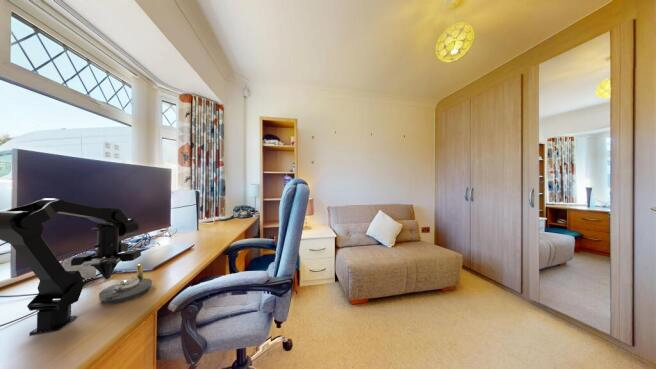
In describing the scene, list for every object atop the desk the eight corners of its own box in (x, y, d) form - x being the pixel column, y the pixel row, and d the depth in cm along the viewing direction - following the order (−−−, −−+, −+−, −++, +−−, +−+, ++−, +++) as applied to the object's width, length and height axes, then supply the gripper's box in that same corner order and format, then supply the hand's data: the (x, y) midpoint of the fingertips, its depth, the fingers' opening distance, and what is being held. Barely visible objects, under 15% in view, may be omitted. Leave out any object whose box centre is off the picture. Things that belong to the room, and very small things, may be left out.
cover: (132, 290, 78) (133, 283, 78) (109, 293, 75) (110, 285, 75) (142, 281, 84) (143, 275, 84) (122, 284, 82) (122, 277, 82)
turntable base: (137, 300, 75) (137, 297, 75) (92, 306, 71) (92, 303, 71) (155, 284, 88) (155, 281, 88) (117, 288, 84) (117, 285, 84)
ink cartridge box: (95, 275, 96) (95, 245, 96) (96, 278, 93) (97, 247, 93) (61, 283, 88) (61, 251, 88) (61, 287, 85) (62, 253, 85)
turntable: (139, 297, 75) (139, 278, 75) (86, 304, 70) (87, 284, 70) (161, 277, 91) (161, 261, 91) (119, 282, 86) (120, 265, 86)
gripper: (148, 233, 88) (148, 267, 88) (94, 236, 83) (94, 273, 83) (132, 240, 78) (131, 279, 78) (69, 243, 72) (68, 285, 72)
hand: (107, 278), depth 78 cm, fingers closed
